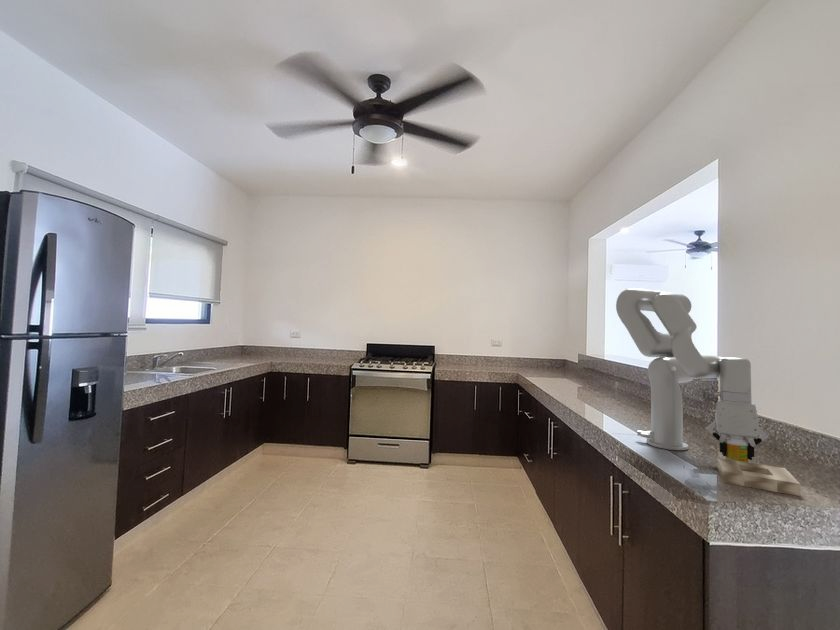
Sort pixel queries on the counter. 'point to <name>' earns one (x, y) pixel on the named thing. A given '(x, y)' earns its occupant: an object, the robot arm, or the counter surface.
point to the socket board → (758, 476)
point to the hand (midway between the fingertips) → (736, 456)
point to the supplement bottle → (736, 448)
